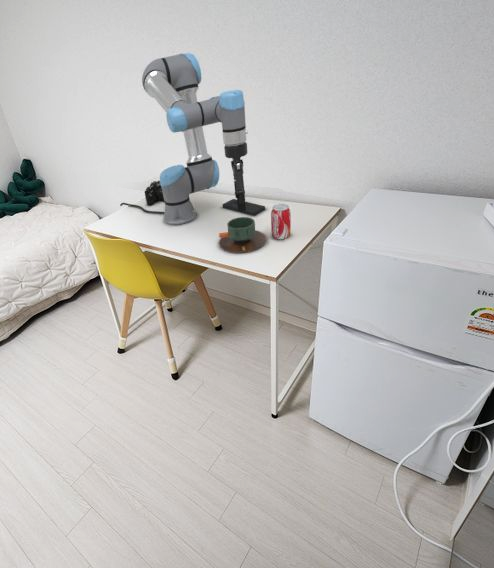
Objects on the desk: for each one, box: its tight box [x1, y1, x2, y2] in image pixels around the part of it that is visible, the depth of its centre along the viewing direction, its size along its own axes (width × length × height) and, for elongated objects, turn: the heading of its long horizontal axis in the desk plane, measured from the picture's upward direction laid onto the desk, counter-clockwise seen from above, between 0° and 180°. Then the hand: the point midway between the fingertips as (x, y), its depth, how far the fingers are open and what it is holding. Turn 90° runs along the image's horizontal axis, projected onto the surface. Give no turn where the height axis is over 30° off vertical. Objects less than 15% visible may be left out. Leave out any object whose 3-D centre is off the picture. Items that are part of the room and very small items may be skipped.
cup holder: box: [218, 216, 256, 241], centre depth 133 cm, size 14×11×5 cm
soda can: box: [270, 203, 292, 240], centre depth 131 cm, size 7×7×12 cm
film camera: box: [144, 179, 164, 206], centre depth 188 cm, size 18×12×10 cm
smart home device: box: [222, 198, 266, 217], centre depth 162 cm, size 8×2×20 cm
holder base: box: [218, 230, 267, 254], centre depth 135 cm, size 18×18×3 cm
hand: (240, 204), depth 127 cm, fingers open, 13 cm apart
